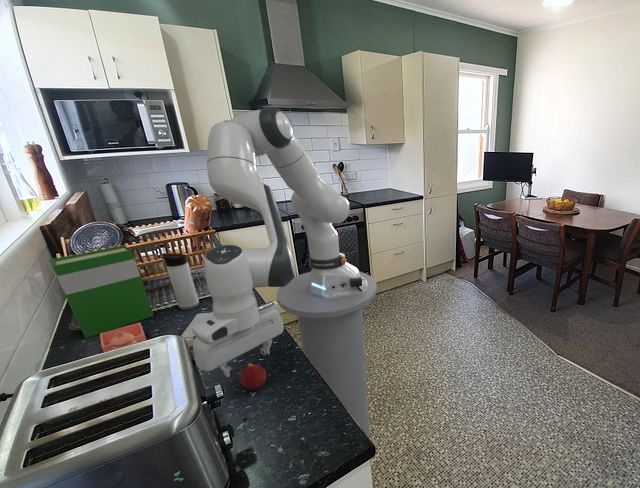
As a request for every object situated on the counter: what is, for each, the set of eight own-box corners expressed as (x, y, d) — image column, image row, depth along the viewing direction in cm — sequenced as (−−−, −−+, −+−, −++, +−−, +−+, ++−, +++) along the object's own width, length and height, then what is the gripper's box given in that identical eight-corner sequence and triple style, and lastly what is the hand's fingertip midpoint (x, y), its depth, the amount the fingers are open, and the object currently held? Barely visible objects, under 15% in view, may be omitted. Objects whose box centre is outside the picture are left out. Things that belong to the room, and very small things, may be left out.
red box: (104, 345, 103) (92, 317, 99) (144, 333, 109) (134, 306, 105) (109, 376, 91) (96, 345, 87) (153, 361, 97) (142, 331, 93)
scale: (250, 315, 120) (248, 307, 119) (237, 342, 106) (235, 334, 105) (199, 319, 117) (196, 312, 116) (178, 348, 103) (175, 339, 101)
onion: (268, 378, 92) (263, 353, 89) (268, 393, 87) (263, 367, 84) (244, 383, 90) (238, 359, 87) (242, 399, 85) (236, 373, 82)
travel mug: (173, 308, 123) (157, 256, 115) (190, 300, 129) (176, 250, 121) (187, 311, 122) (171, 259, 113) (203, 303, 127) (189, 252, 119)
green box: (147, 308, 123) (125, 244, 113) (154, 315, 119) (131, 250, 109) (80, 329, 110) (49, 259, 101) (85, 338, 106) (53, 266, 96)
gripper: (269, 295, 89) (277, 340, 95) (183, 331, 73) (198, 382, 79) (285, 302, 86) (292, 348, 92) (198, 341, 70) (213, 393, 76)
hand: (248, 364), depth 85 cm, fingers open, 8 cm apart
